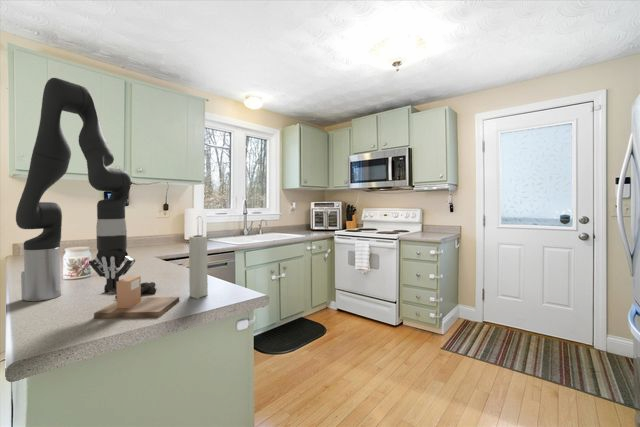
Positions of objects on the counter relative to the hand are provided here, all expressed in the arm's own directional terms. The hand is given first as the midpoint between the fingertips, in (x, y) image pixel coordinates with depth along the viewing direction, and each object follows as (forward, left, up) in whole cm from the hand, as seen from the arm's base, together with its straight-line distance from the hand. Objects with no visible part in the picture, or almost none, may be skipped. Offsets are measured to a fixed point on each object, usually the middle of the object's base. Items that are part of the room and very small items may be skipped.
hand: (113, 289), depth 91 cm
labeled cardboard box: (+5, 0, -5) cm, 7 cm away
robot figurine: (-5, +20, -7) cm, 21 cm away
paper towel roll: (+21, +13, -6) cm, 26 cm away
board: (+8, 0, -6) cm, 10 cm away
